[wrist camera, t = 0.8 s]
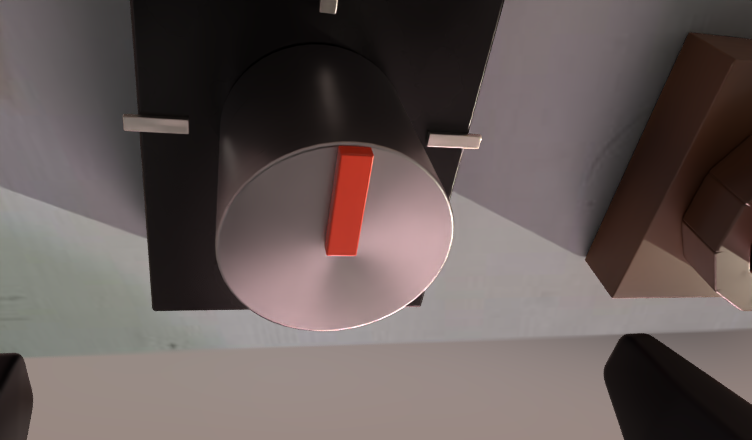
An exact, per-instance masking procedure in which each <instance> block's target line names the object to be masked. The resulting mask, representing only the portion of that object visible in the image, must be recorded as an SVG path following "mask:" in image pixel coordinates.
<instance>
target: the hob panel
mask: <svg viewBox="0 0 752 440" xmlns="http://www.w3.org/2000/svg"><path fill="white" fill-rule="evenodd" d="M503 3H504V0H130V8H131V22H132V35H133V49H134V63H135V77H136V90H137V104H138V115H137V114H123V128H124V131H139V132H140V146H141V159H142V173H143V187H144V201H145V214H146V228H147V242H148V256H149V270H150V283H151V297H152V308H153V310H154V311H180V310H244V309H248V308H247V307H246V306H245V305H244V304H242V303H241V302H240V301H239V300H238V299H237V298H236V296H235V295H234V294H233V293H232V292H231V290H230V289H229V287H228V286H227V284H226V283H225V281H224V279H223V277H222V275H221V272H220V270H219V267H218V263H217V259H216V249H215V237H216V213H217V188H218V164H219V140H220V122H221V115H222V111H223V107H224V104H225V101H226V99H227V97H228V94H229V93H230V91H231V89H232V88H233V86H234V84H235V83H236V82H237V81H238V79H239V78H240V77H241V76H242V75H243V74H244V73H245V72H246V71H247V70H248V69H249V68H250V67H251V66H253V65H254V64H255V63H257V62H258V61H260V60H261V59H263V58H265V57H267V56H269V55H270V54H272V53H275V52H277V51H280V50H283V49H286V48H290V47H294V46H300V45H309V44H317V45H329V46H336V47H340V48H343V49H346V50H350V51H352V52H354V53H356V54H359V55H361V56H362V57H364V58H366V59H367V60H369V61H370V62H372V63H373V64H374V65H375V66H376V67H378V68H379V69H380V70H381V71H382V72H383V73H384V75H385V76H386V77H387V78H388V79H389V81H390V82H391V84H392V85H393V87H394V89H395V91H396V93H397V95H398V97H399V99H400V101H401V103H402V105H403V107H404V109H405V111H406V113H407V115H408V117H409V119H410V121H411V123H412V125H413V127H414V129H415V131H416V133H417V136H418V138H419V140H420V142H421V144H422V146H423V148H424V150H425V152H426V154H427V156H428V158H429V160H430V162H431V164H432V166H433V168H434V170H435V172H436V174H437V176H438V178H439V180H440V182H441V184H442V186H443V188H444V190H445V192H446V194H447V197H448V199H449V201H450V197H451V194H452V190H453V186H454V183H455V179H456V175H457V172H458V168H459V164H460V161H461V157H462V153H463V150H464V148H471V149H478V148H479V145H480V141H481V138H482V137H481V135H480V134H468V131H469V128H470V124H471V120H472V117H473V113H474V110H475V106H476V102H477V99H478V95H479V91H480V88H481V84H482V80H483V77H484V73H485V69H486V66H487V62H488V58H489V55H490V51H491V47H492V44H493V40H494V36H495V33H496V29H497V25H498V22H499V18H500V14H501V11H502V7H503ZM424 292H425V291H424ZM424 292H423V293H421V294H420V295H419V296H418V297H417V298H416V299H415V300H413V301H412V302H411V303H409V304H408V305H406V306H405V307H420V306H421V303H422V300H423V296H424Z"/></svg>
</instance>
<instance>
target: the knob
mask: <svg viewBox="0 0 752 440" xmlns="http://www.w3.org/2000/svg"><path fill="white" fill-rule="evenodd" d="M453 227H454V222H453V213H452V208H451V205H450V201H449V199H448V197H447V194H446V192H445V190H444V188H443V186H442V184H441V182H440V180H439V178H438V176H437V174H436V172H435V170H434V168H433V166H432V164H431V162H430V160H429V158H428V156H427V154H426V152H425V150H424V148H423V146H422V144H421V142H420V140H419V138H418V136H417V133H416V131H415V129H414V127H413V125H412V123H411V121H410V119H409V117H408V115H407V113H406V111H405V109H404V107H403V105H402V103H401V101H400V99H399V97H398V95H397V93H396V91H395V89H394V87H393V85H392V84H391V82H390V81H389V79H388V78H387V77H386V76H385V75H384V73H383V72H382V71H381V70H380V69H379V68H378V67H376V66H375V65H374V64H373V63H372V62H370V61H369V60H367V59H366V58H364V57H362V56H361V55H359V54H356V53H354V52H352V51H350V50H346V49H343V48H340V47H336V46H329V45H317V44H309V45H300V46H294V47H290V48H286V49H283V50H280V51H277V52H275V53H272V54H270V55H269V56H267V57H265V58H263V59H261V60H260V61H258V62H257V63H255V64H254V65H253V66H251V67H250V68H249V69H248V70H247V71H246V72H245V73H244V74H243V75H242V76H241V77H240V78H239V79H238V81H237V82H236V83H235V84H234V86H233V88H232V89H231V91H230V93H229V94H228V97H227V99H226V101H225V104H224V107H223V111H222V115H221V122H220V140H219V164H218V188H217V213H216V237H215V249H216V259H217V263H218V267H219V270H220V272H221V275H222V277H223V279H224V281H225V283H226V284H227V286H228V287H229V289H230V290H231V292H232V293H233V294H234V295H235V296H236V298H237V299H238V300H239V301H240V302H241V303H242V304H244V305H245V306H246V307H247V308H248V309H250V310H251V311H253V312H254V313H256V314H258V315H259V316H261V317H263V318H265V319H267V320H269V321H271V322H274V323H277V324H280V325H283V326H286V327H291V328H295V329H301V330H309V331H335V330H344V329H350V328H355V327H359V326H363V325H367V324H369V323H372V322H375V321H378V320H380V319H383V318H385V317H387V316H389V315H391V314H393V313H395V312H397V311H398V310H400V309H402V308H404V307H405V306H406V305H408V304H409V303H411V302H412V301H413V300H415V299H416V298H417V297H418V296H419V295H420V294H421V293H423V292H424V291H425V290H426V288H427V287H428V286H429V285H430V284H431V283H432V282H433V281H434V279H435V278H436V276H437V275H438V274H439V272H440V271H441V269H442V267H443V265H444V263H445V261H446V259H447V256H448V254H449V251H450V248H451V243H452V238H453Z"/></svg>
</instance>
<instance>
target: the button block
mask: <svg viewBox="0 0 752 440" xmlns="http://www.w3.org/2000/svg"><path fill="white" fill-rule="evenodd" d="M585 261H586V262H587V263H588V265H589V266H590V268H591V269H592V271H593V272H594V273H595V275H596V276H597V278H598V279H599V280H600V282H601V283H602V285H603V286H604V288H605V289H606V290H607V292H608V293H609V295H610V296H611V297H612V298H678V297H723V298H724V299H726V300H727V301H728V302H730V303H731V304H732V305H734V306H735V307H736V308H738V309H739V310H742V311H752V39H746V38H737V37H728V36H719V35H710V34H701V33H692V32H690V33H688V35H687V38H686V40H685V42H684V44H683V46H682V49H681V51H680V53H679V55H678V57H677V59H676V62H675V64H674V66H673V68H672V70H671V73H670V75H669V77H668V79H667V81H666V84H665V86H664V88H663V90H662V92H661V94H660V97H659V99H658V101H657V103H656V105H655V108H654V110H653V112H652V114H651V116H650V118H649V121H648V123H647V125H646V127H645V129H644V132H643V134H642V136H641V138H640V140H639V143H638V145H637V147H636V149H635V151H634V153H633V156H632V158H631V160H630V162H629V164H628V167H627V169H626V171H625V173H624V175H623V177H622V180H621V182H620V184H619V186H618V188H617V191H616V193H615V195H614V197H613V199H612V202H611V204H610V206H609V208H608V210H607V212H606V215H605V217H604V219H603V221H602V223H601V226H600V228H599V230H598V232H597V234H596V236H595V239H594V241H593V243H592V245H591V247H590V250H589V252H588V254H587V256H586V258H585Z"/></svg>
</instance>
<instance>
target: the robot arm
mask: <svg viewBox="0 0 752 440" xmlns="http://www.w3.org/2000/svg"><path fill="white" fill-rule="evenodd" d="M604 380H605V384H606V387H607V390H608V393H609V395H610V399H611V402H612V405H613V407H614V411H615V413H616V417H617V419H618V422H619V425H620V429H621V432H622V435H623V437H624V440H752V404H750V403H749V402H747V401H746V400H744V399H743V398H741V397H740V396H738V395H737V394H735V393H734V392H733V391H731V390H730V389H728V388H727V387H725V386H724V385H722V384H721V383H720V382H718V381H717V380H715V379H714V378H712V377H711V376H709V375H708V374H706V373H705V372H704V371H702V370H701V369H699V368H698V367H696V366H695V365H693V364H692V363H690V362H689V361H688V360H686V359H684V358H683V357H682V356H680V355H679V354H677V353H676V352H674V351H673V350H671V349H670V348H669V347H667V346H666V345H664V344H663V343H661V342H660V341H658V340H657V339H655V338H654V337H652V336H651V335H649V334H644V333H638V334H625V335H623V336H622V337H621V338H620V339H619V341H618V343H617V345H616V346H615V348H614V350H613V352H612V354H611V355H610V357H609V359H608V361H607V363H606V365H605V367H604ZM32 407H33V393H32V389H31V385H30V381H29V377H28V373H27V369H26V365H25V362H24V359H23V357H22V356H21V355H20V354H18V353H0V440H27V435H28V429H29V424H30V419H31V414H32Z"/></svg>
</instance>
